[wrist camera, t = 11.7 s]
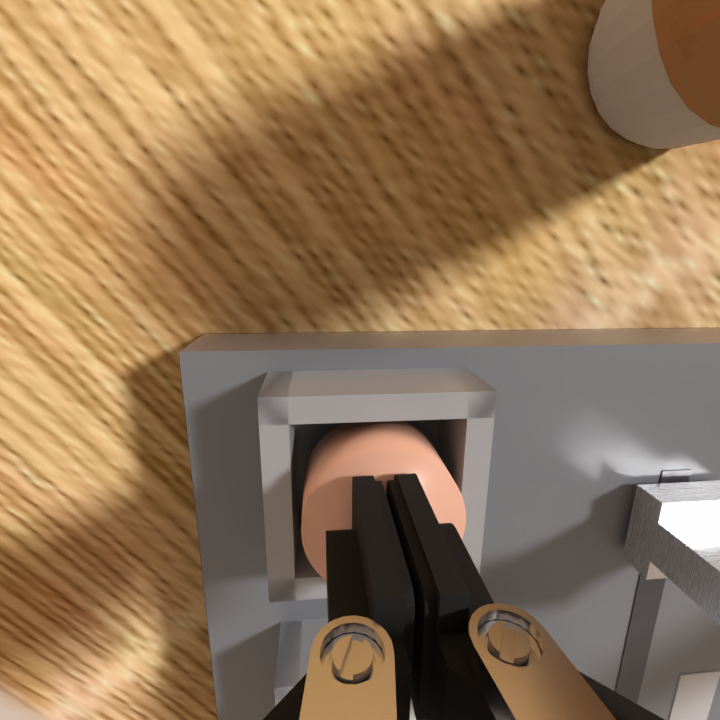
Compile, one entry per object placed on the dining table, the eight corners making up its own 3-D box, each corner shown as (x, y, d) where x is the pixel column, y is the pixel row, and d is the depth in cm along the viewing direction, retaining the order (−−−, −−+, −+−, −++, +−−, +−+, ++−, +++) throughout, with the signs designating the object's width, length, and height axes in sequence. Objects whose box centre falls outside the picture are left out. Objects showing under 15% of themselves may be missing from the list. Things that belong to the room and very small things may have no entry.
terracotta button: (436, 534, 14) (460, 590, 12) (305, 542, 13) (303, 602, 11) (443, 413, 13) (472, 448, 11) (301, 418, 12) (298, 455, 10)
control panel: (675, 677, 23) (782, 804, 18) (239, 724, 21) (212, 885, 15) (765, 327, 18) (951, 357, 13) (204, 333, 16) (146, 374, 10)
